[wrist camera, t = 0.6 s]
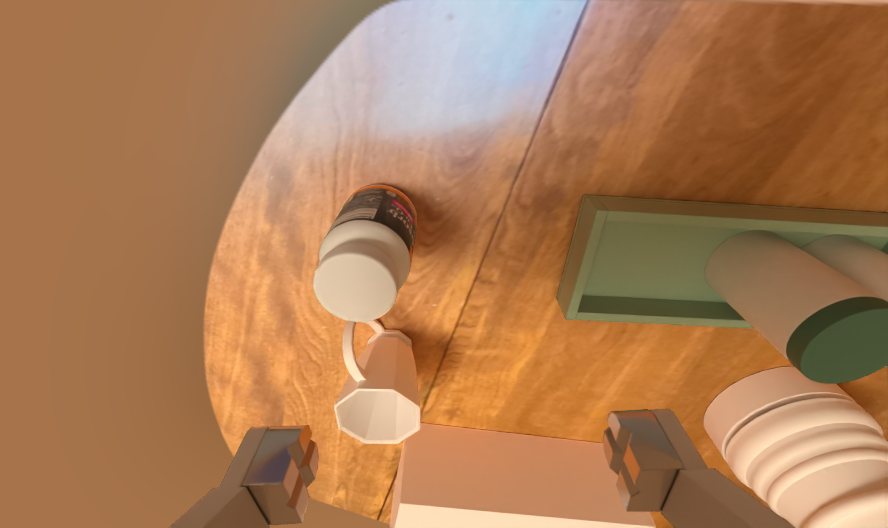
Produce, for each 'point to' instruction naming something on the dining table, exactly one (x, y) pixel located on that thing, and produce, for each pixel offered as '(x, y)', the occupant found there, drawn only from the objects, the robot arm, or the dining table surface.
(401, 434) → the cup
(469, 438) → the hammer embossed box
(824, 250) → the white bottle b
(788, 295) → the white bottle
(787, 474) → the honey pot
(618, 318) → the bottle tray
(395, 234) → the pill bottle
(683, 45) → the dining table surface
